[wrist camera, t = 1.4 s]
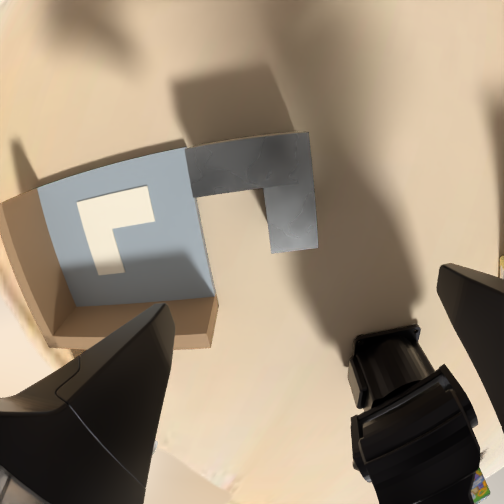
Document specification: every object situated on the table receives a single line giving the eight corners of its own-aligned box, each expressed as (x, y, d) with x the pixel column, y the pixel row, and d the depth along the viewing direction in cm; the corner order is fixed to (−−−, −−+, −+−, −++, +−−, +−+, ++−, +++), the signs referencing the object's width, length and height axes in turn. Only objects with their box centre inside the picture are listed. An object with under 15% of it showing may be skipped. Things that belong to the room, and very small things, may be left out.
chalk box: (447, 478, 45) (461, 521, 31) (478, 461, 43) (494, 502, 30) (445, 485, 48) (457, 524, 34) (473, 470, 46) (488, 508, 33)
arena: (187, 146, 18) (164, 153, 14) (218, 305, 23) (210, 347, 18) (32, 189, 19) (-8, 206, 15) (74, 314, 24) (49, 347, 19)
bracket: (295, 131, 18) (308, 132, 13) (304, 219, 20) (318, 247, 16) (202, 143, 18) (184, 149, 14) (217, 230, 21) (206, 261, 16)
